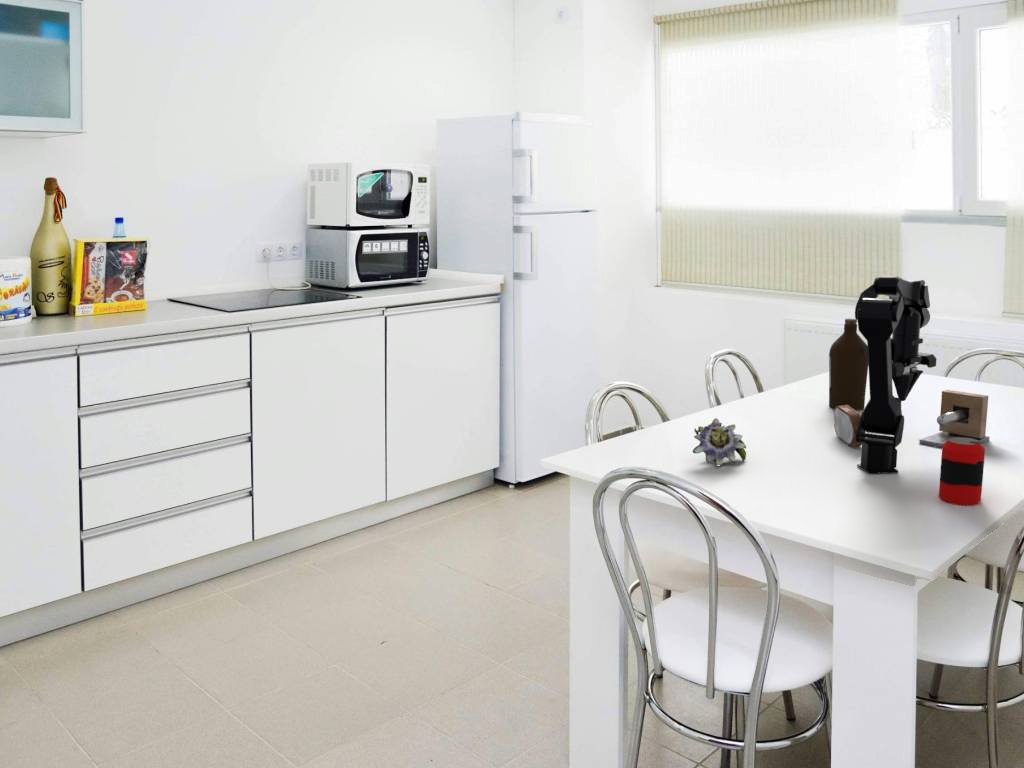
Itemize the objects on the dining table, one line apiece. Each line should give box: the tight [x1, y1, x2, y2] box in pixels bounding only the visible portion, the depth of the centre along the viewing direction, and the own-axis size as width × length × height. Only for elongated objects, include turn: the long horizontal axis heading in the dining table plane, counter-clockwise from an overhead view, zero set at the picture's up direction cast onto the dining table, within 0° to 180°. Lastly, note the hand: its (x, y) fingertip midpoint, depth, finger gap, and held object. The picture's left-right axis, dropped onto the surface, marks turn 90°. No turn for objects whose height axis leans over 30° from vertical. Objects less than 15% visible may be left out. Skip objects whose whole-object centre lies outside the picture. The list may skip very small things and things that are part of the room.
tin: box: [833, 405, 862, 447], centre depth 231 cm, size 15×3×8 cm, turn 179°
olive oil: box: [828, 318, 869, 411], centre depth 266 cm, size 11×11×25 cm
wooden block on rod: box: [938, 389, 989, 438], centre depth 230 cm, size 2×10×10 cm, turn 39°
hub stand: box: [918, 391, 991, 449], centre depth 229 cm, size 14×10×11 cm
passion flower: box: [692, 417, 747, 466], centre depth 217 cm, size 11×11×12 cm
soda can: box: [938, 437, 986, 506], centre depth 186 cm, size 8×8×12 cm
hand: (901, 400), depth 221 cm, fingers closed
